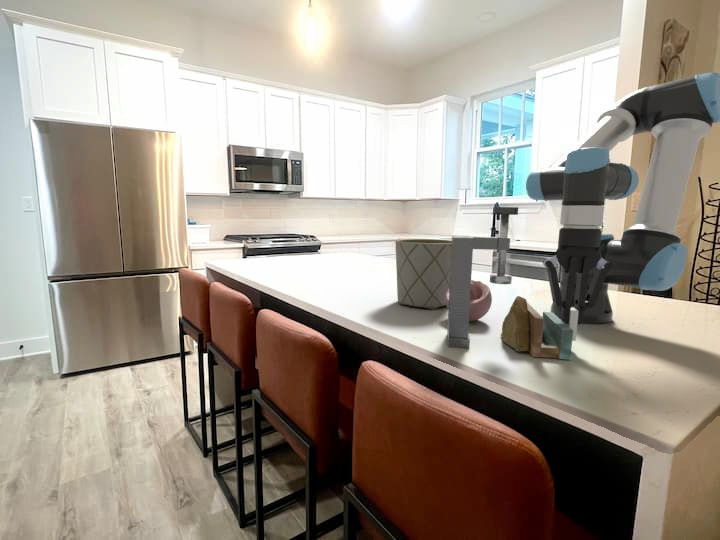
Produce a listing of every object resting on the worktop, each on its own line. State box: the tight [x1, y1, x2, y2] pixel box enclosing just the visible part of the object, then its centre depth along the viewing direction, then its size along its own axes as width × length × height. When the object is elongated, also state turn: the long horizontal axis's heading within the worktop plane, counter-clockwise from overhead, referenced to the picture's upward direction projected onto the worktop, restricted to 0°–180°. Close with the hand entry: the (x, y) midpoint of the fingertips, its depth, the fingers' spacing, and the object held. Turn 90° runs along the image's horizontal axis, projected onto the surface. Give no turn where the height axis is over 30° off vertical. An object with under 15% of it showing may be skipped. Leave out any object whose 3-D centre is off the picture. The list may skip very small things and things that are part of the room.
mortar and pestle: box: [445, 279, 493, 322], centre depth 102 cm, size 12×12×11 cm
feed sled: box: [527, 302, 573, 361], centre depth 82 cm, size 7×14×8 cm, turn 169°
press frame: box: [446, 235, 511, 349], centre depth 84 cm, size 12×9×24 cm
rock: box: [500, 295, 530, 352], centre depth 83 cm, size 11×9×10 cm
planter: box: [395, 238, 452, 311], centre depth 120 cm, size 19×19×20 cm
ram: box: [489, 206, 519, 285], centre depth 81 cm, size 5×5×16 cm
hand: (569, 338), depth 81 cm, fingers closed
